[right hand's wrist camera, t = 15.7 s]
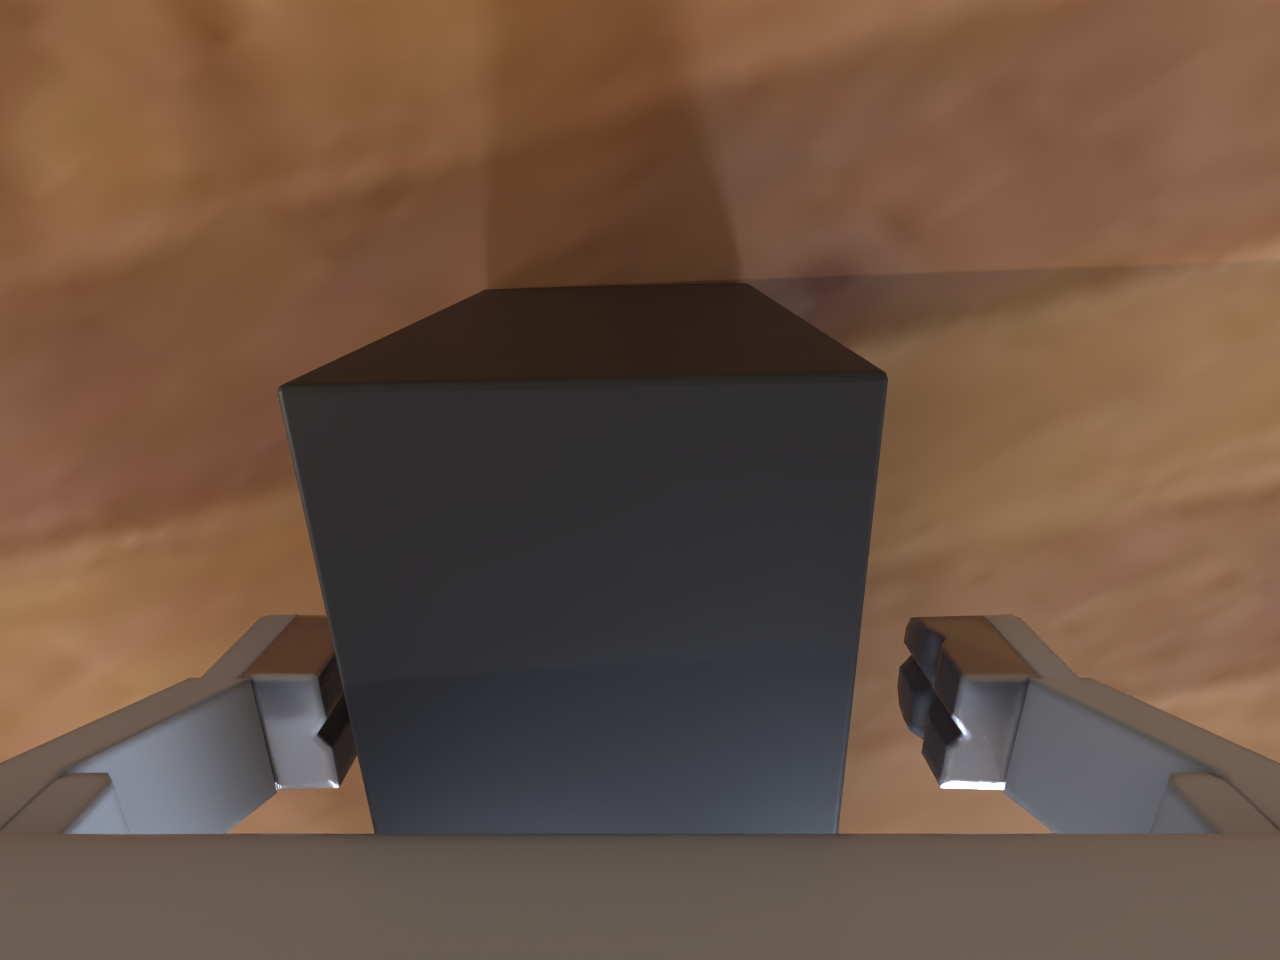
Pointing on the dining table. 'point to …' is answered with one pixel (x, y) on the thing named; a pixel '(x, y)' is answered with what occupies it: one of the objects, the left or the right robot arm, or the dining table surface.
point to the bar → (595, 560)
